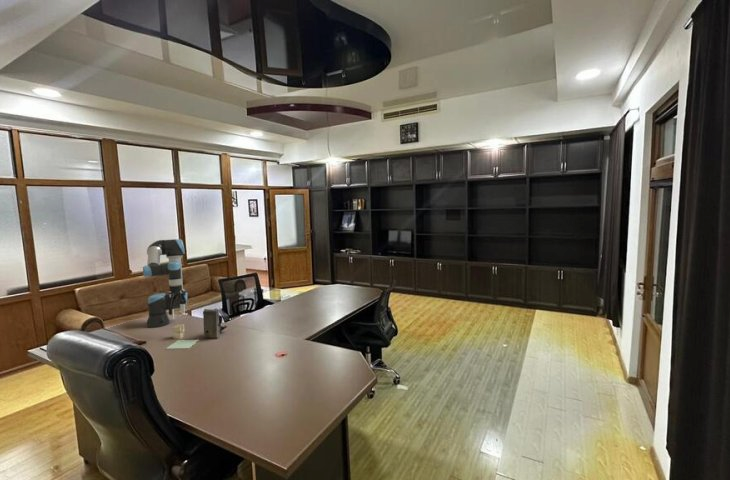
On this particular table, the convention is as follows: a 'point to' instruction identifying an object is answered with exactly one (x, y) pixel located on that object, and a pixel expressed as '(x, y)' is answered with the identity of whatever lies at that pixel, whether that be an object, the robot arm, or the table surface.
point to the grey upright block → (212, 323)
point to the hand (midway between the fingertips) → (177, 316)
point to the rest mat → (182, 344)
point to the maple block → (178, 332)
